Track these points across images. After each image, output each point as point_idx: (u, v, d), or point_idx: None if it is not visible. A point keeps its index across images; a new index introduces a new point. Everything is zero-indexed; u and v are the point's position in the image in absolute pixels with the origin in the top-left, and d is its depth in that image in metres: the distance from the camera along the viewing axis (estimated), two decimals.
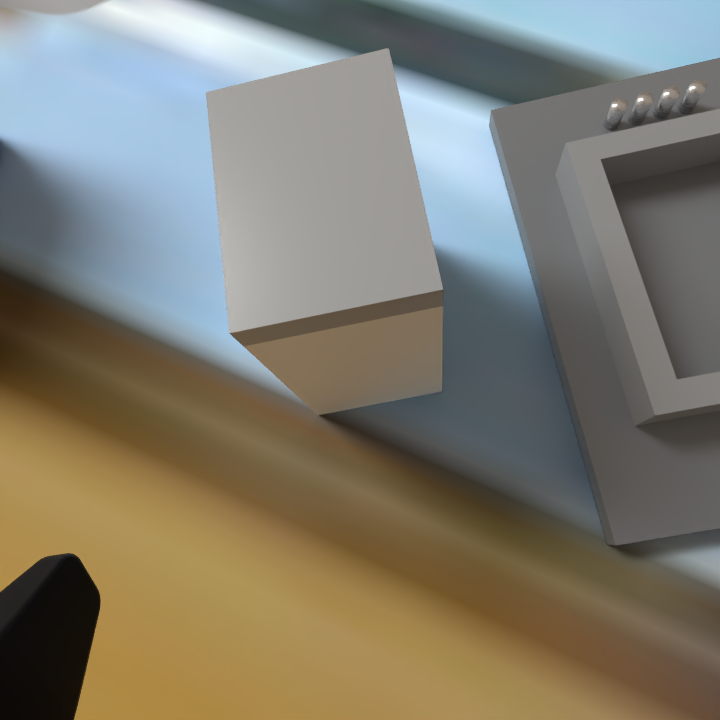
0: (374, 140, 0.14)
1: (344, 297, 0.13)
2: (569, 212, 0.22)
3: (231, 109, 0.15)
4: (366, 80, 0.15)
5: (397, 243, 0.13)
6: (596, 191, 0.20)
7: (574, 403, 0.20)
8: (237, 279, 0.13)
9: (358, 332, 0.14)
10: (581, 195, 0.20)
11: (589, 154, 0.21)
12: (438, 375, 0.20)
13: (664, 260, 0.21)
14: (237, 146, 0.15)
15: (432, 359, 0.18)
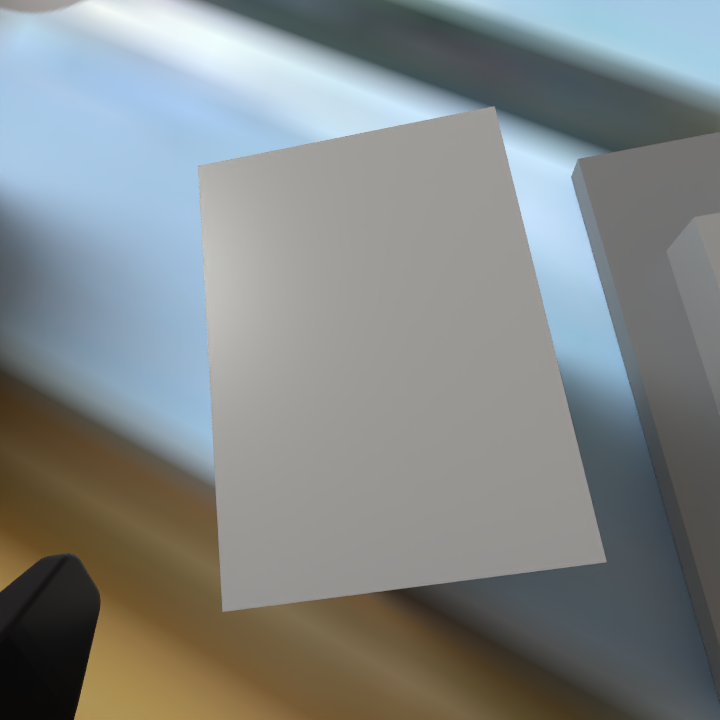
0: (474, 265, 0.08)
1: (426, 561, 0.07)
2: (687, 305, 0.17)
3: (238, 196, 0.09)
4: (458, 159, 0.09)
5: (519, 462, 0.08)
6: None
7: (698, 580, 0.15)
8: (239, 506, 0.08)
9: None
10: (718, 293, 0.15)
11: None
12: None
13: None
14: (245, 262, 0.09)
15: None
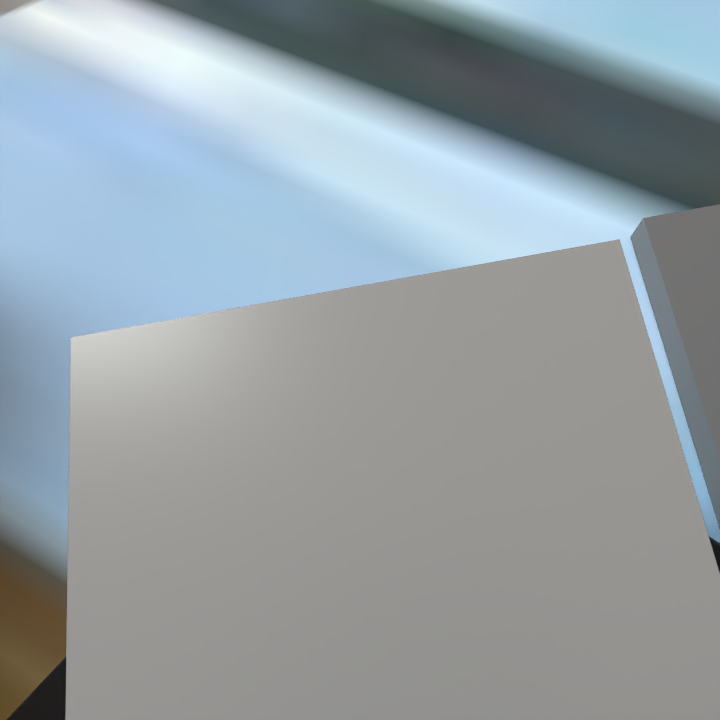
0: (599, 588, 0.04)
1: None
2: None
3: (139, 405, 0.05)
4: (555, 347, 0.05)
5: None
6: None
7: None
8: None
9: None
10: None
11: None
12: None
13: None
14: (146, 545, 0.05)
15: None
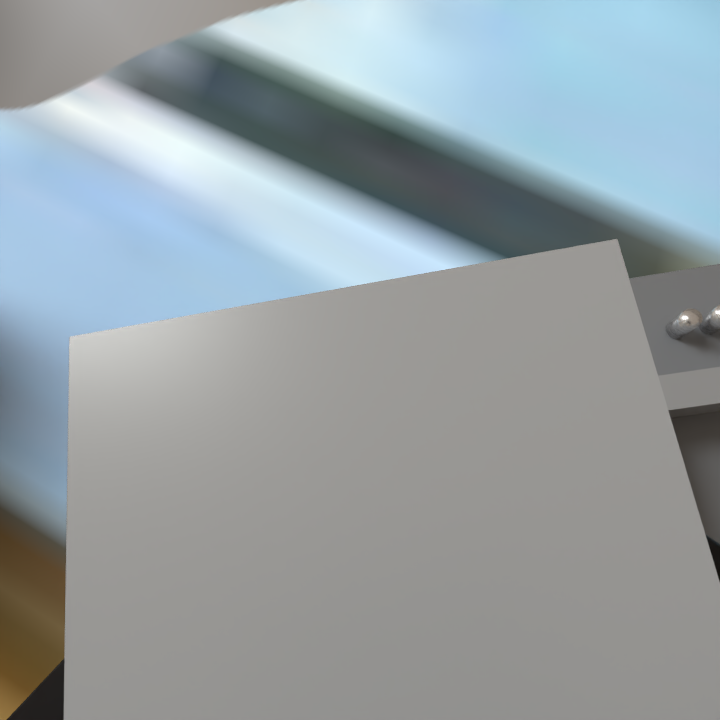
0: (596, 588, 0.04)
1: None
2: None
3: (137, 404, 0.05)
4: (553, 347, 0.05)
5: None
6: None
7: None
8: None
9: None
10: None
11: None
12: None
13: None
14: (144, 544, 0.05)
15: None
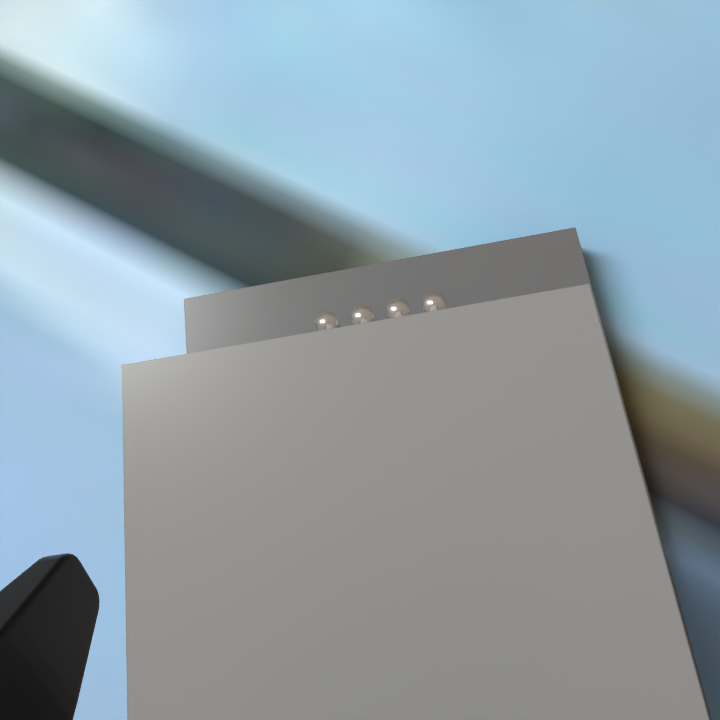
0: (567, 578, 0.05)
1: None
2: None
3: (183, 423, 0.06)
4: (534, 376, 0.06)
5: None
6: None
7: None
8: None
9: None
10: None
11: None
12: None
13: None
14: (191, 542, 0.06)
15: None
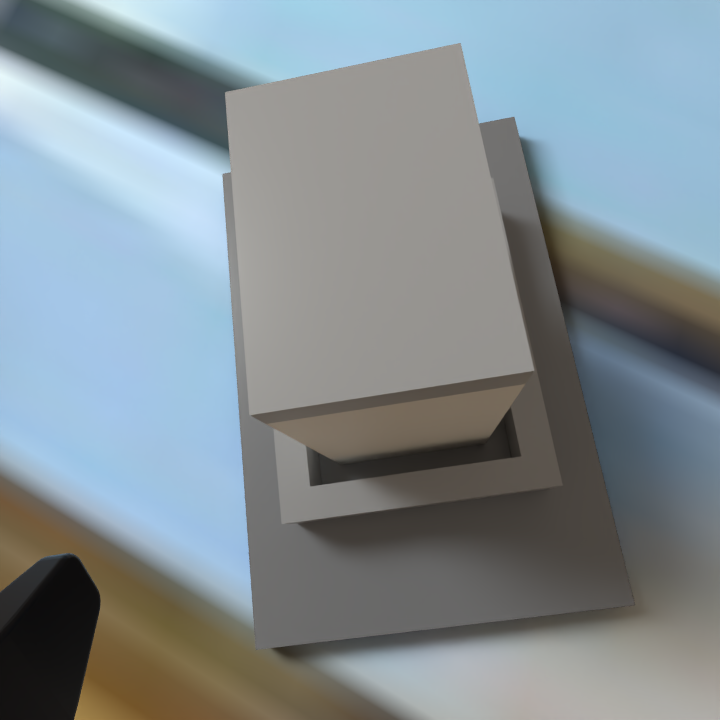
0: (441, 164, 0.11)
1: (402, 374, 0.10)
2: None
3: (257, 115, 0.12)
4: (431, 84, 0.11)
5: (472, 304, 0.10)
6: None
7: (246, 495, 0.20)
8: (261, 342, 0.10)
9: (411, 408, 0.11)
10: None
11: None
12: (488, 433, 0.17)
13: None
14: (264, 164, 0.11)
15: (488, 422, 0.15)
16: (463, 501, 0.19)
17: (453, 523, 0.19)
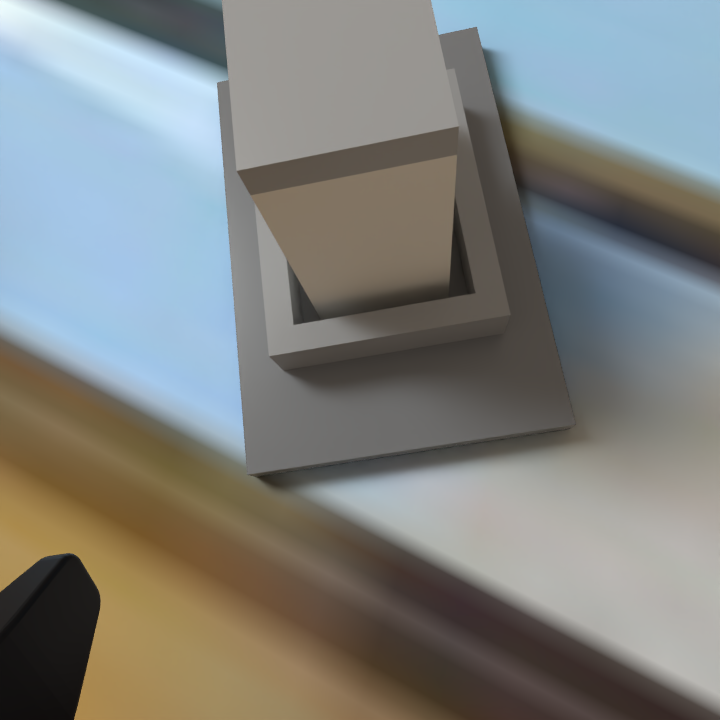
0: None
1: (356, 135, 0.12)
2: None
3: None
4: None
5: (412, 83, 0.13)
6: None
7: (238, 350, 0.22)
8: (245, 119, 0.13)
9: (369, 188, 0.14)
10: None
11: None
12: (446, 271, 0.19)
13: None
14: None
15: (441, 242, 0.17)
16: (428, 346, 0.21)
17: (419, 365, 0.21)
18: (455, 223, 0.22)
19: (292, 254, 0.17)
